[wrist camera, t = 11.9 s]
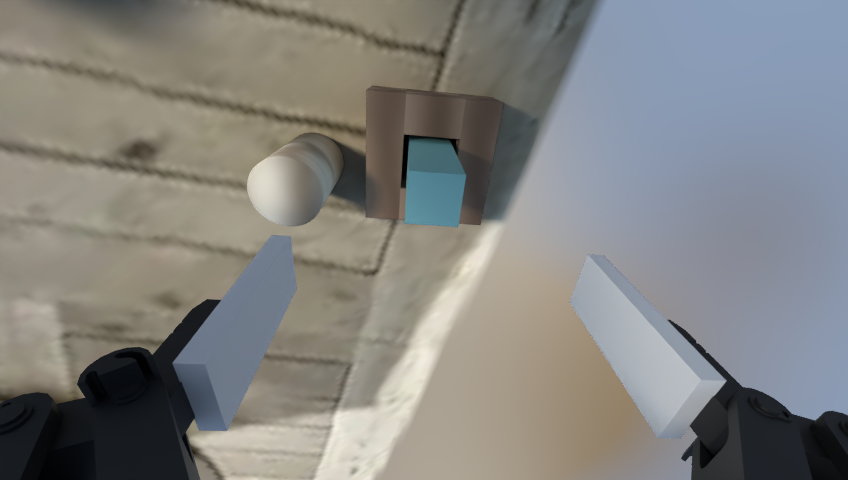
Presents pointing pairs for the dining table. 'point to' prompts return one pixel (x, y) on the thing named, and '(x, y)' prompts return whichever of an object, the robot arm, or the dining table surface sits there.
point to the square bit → (433, 182)
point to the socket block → (434, 117)
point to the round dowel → (296, 179)
